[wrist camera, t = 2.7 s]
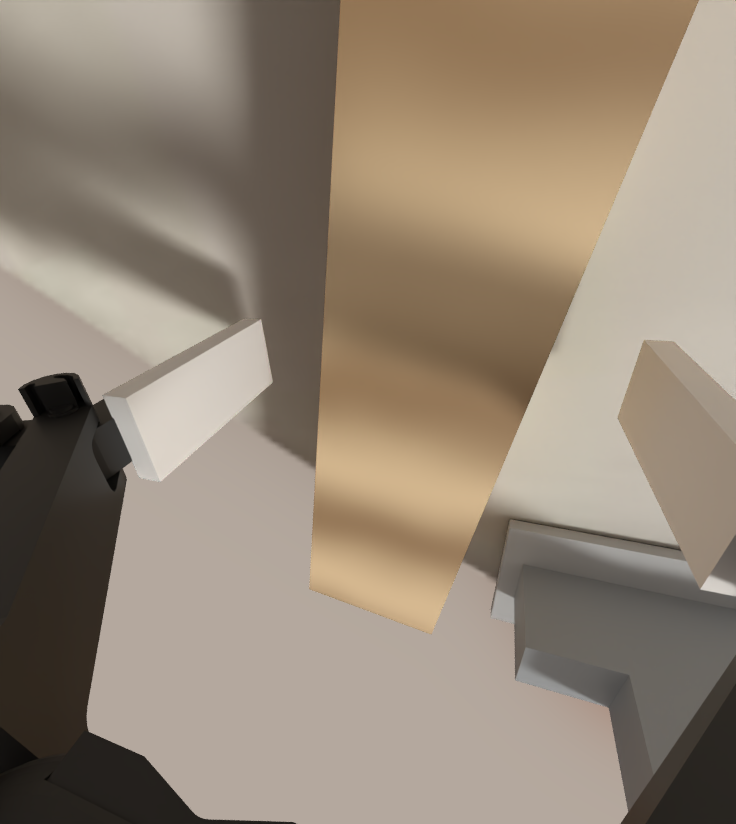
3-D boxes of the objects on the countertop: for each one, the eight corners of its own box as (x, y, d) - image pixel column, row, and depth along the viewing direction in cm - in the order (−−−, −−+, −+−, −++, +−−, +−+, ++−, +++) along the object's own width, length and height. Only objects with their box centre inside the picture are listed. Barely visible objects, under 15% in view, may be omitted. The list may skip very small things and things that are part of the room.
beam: (434, -142, 10) (364, -444, 5) (692, -143, 9) (922, -531, 4) (350, 501, 23) (309, 589, 18) (447, 533, 22) (431, 634, 17)
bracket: (509, 519, 20) (510, 720, 13) (863, 584, 16) (1158, 928, 9) (491, 608, 24) (483, 799, 17) (767, 677, 20) (912, 962, 13)
